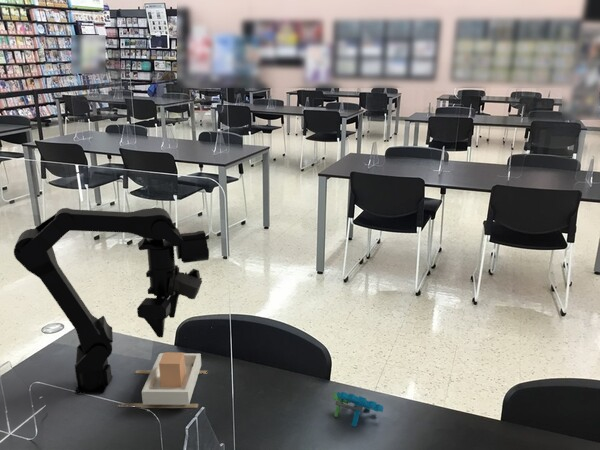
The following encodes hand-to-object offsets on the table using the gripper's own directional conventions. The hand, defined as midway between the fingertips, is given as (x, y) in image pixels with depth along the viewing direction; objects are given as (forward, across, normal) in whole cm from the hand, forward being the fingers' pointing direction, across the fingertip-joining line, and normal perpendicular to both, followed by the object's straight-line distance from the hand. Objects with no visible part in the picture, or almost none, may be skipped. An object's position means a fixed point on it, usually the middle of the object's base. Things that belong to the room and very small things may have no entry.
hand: (166, 326), depth 119 cm
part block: (+10, -7, -3) cm, 12 cm away
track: (+12, -7, -1) cm, 14 cm away
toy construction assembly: (+12, -14, -44) cm, 48 cm away
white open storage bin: (+12, -7, -3) cm, 14 cm away
